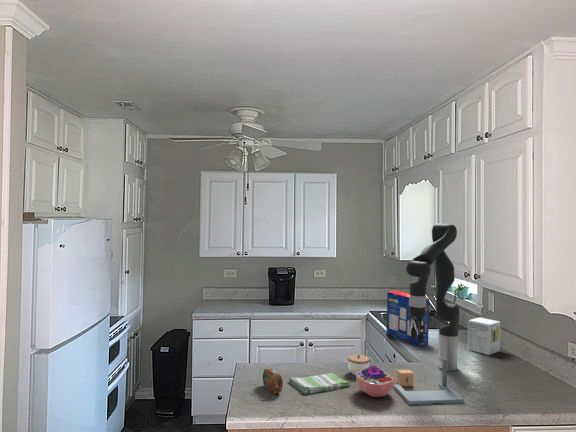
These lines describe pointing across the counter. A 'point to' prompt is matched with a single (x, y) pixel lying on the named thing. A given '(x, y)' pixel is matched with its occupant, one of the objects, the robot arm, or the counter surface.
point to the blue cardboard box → (403, 318)
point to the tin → (272, 381)
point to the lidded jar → (357, 362)
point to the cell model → (375, 381)
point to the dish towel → (318, 383)
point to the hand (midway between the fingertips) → (416, 340)
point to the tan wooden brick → (405, 377)
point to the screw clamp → (431, 392)
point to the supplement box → (484, 335)
